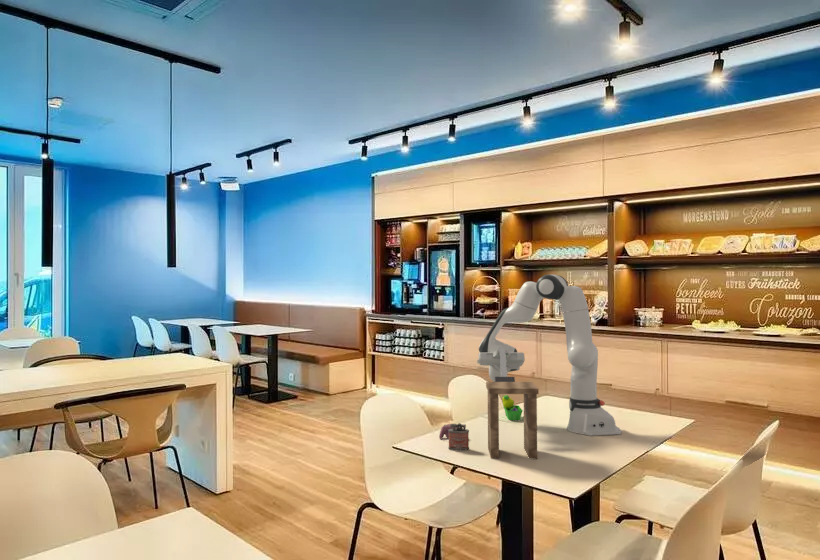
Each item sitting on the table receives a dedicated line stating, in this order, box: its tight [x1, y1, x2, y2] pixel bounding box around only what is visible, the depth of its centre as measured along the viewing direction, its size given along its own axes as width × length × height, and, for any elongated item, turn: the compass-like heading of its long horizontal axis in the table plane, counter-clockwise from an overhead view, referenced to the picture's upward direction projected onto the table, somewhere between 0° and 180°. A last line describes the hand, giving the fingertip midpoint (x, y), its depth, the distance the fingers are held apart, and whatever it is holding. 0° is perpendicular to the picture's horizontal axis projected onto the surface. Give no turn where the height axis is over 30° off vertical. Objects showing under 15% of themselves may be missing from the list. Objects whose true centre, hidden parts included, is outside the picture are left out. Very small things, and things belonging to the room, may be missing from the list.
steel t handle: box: [493, 348, 516, 382], centre depth 232 cm, size 8×18×4 cm
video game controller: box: [439, 423, 457, 440], centre depth 228 cm, size 10×5×7 cm, turn 72°
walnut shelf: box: [485, 381, 539, 460], centre depth 206 cm, size 18×14×26 cm
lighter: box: [448, 422, 470, 451], centre depth 212 cm, size 8×3×10 cm, turn 84°
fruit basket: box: [502, 394, 524, 421], centre depth 261 cm, size 11×9×11 cm
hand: (502, 351), depth 235 cm, fingers closed on steel t handle, 2 cm apart
